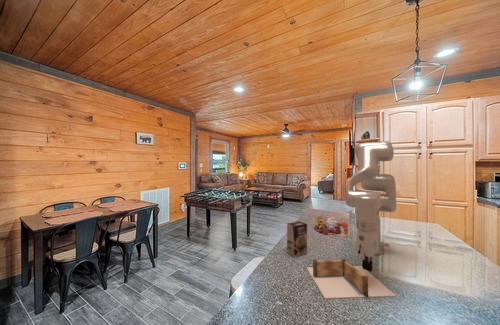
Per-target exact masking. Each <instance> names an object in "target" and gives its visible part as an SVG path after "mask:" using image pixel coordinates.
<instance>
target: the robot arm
mask: <svg viewBox="0 0 500 325" xmlns="http://www.w3.org/2000/svg"><path fill="white" fill-rule="evenodd" d="M354 154H355V157H356V158H357V170H356V172H354V174H352V175H351V176H350V177H349V179H348V180H347V181H346V185H345V193H344V200H345V204H346V205H347V206H348V207H350V208H355V228H356V229H357V231H356V253H357V254H358V255H359V259H360V260H361V261H362V262H361V264H362V265H361V266H362V268H363V269H365V270H367V271H368V272H369V273H371V272H372V271H373V267H374V266H373V258H374V256H375V255H383V254H385V249H384V248H389V247H390V243H388V242H385V243H384V241H381V240H382V239H381V219H380V217H379V215H378V212H384V213H394V212H396V210H397V190H396V189H397V187H396V186H397V185H396V179H395V177H394V175H392V174H388V173H379V162H390V161H392V160H393V159H394V154H395V153H394V147H393V144H392V143H391V142H390V141H387V140H385V141H372V142H371V141H369V142H360V143H357V144H355V146H354ZM358 184H360V186H361V188H362V189H363V190H354V187H355V186H356V185H358ZM380 192H384V193H380Z"/></svg>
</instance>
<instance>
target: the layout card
mask: <svg viewBox="0 0 500 325" xmlns="http://www.w3.org/2000/svg"><path fill="white" fill-rule="evenodd" d="M352 266H353V267H354V268H355V269H357V270H358V271H359V272H360V273H362V274H363V275H364V276H367V277H368V297H365V296H364V294H363V293H362V292H361V291H360V290H359V289H358V288H356V287H355V286H354V285H353V284H352V283H351V282H350V281H349V280H348V279H347V278H346V277H345V276H343V275H342V276H317V277H314V276H313V266H312V267H310V266H308V267H306V270H307V272H308V273H309V275H310V277H311V278H312V280H313V282H314V283H315V286H316V287H317V288H318V290H319V292H320V293H321V295H322V296H323V299H324V300H333V299H334V300H335V299H337V300H338V299H340V300H341V299H365V298H367V299H368V298H370V299H371V298H394V297H397V296H396V294H395V293H394V292H392V291H391V290H390V289H389V288H388V287H386V286H385V285H384V284H383V283H382V282H381V281H379V280H378V278H376V277H375V276H374V275H373V274H372V273H371V272H369V271H367V270H365V269H363V268H362V265H352Z"/></svg>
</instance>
